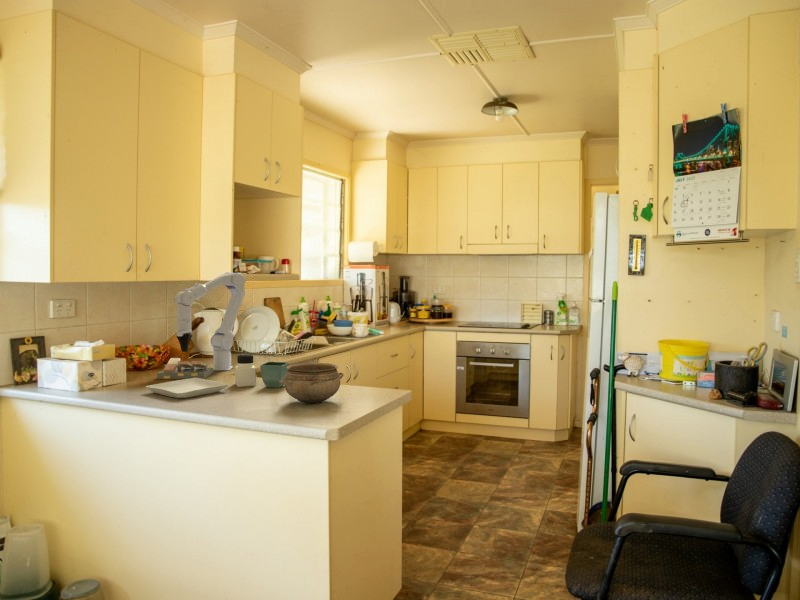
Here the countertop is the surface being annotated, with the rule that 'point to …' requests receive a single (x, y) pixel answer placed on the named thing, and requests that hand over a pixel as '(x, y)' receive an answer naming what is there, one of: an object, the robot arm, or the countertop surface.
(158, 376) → the switch unit
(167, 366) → the left rocker
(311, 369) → the cooking pot
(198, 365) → the right rocker
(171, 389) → the salad plate
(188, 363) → the middle rocker
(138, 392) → the countertop surface
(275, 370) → the flower pot
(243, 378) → the medicine bottle
